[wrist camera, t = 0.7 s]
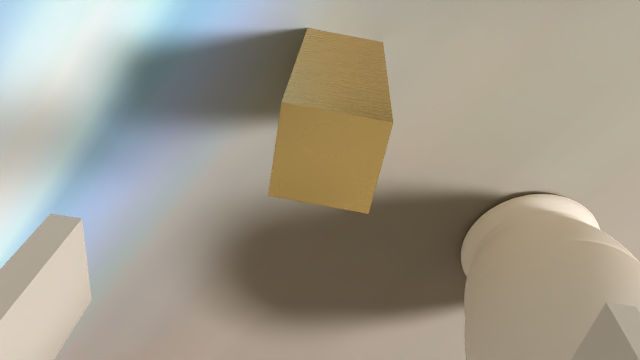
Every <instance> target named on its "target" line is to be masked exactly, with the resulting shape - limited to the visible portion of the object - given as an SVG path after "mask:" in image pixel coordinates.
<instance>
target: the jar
mask: <svg viewBox="0 0 640 360" xmlns="http://www.w3.org/2000/svg"><path fill="white" fill-rule="evenodd" d="M461 263H462V268H463V270H464V273H465V275H466V277H467V280H466V285H465V293H464V314H465V353H466V360H571V359H572V357H573V356H574V354H575V352H576V351H577V349H578V347H579V346H580V344H581V343H582V341H583V339H584V338H585V336H586V334H587V333H588V331H589V329H590V328H591V326H592V324H593V323H594V321H595V319H596V318H597V316H598V314H599V313H600V311H601V309H602V308H603V306H604V304H605V303H606V302H610V303H616V304H623V305H629V306H635V307H637V309H638V311H639V312H640V262H639V261H638V260H637V259H636V258H635V257H634V256H633V255H632V254H631V253H630V252H629V251H628V250H627V249H626V248H625V247H624V246H622V245H621V244H620V243H619V242H618V241H616V240H615V239H614V238H612V237H611V236H609V235H608V234H606V233H605V232H603V231H601V230H600V228H599V225H598V223H597V221H596V219H595V218H594V216H593V215H592V214H591V213H590V211H589V210H587V209H586V208H585V207H584V206H582V205H581V204H579V203H578V202H576V201H574V200H572V199H569V198H566V197H563V196H558V195H552V194H532V195H525V196H520V197H516V198H513V199H510V200H508V201H505V202H503V203H501V204H499V205H497V206H495V207H493V208H492V209H490V210H489V211H487V212H486V213H485V214H483V215H482V216H481V217H480V218H479V219H478V220H477V221H476V222H475V223H474V224H473V226H472V227H471V228H470V230H469V231H468V233H467V235H466V237H465V239H464V241H463V245H462V249H461Z"/></svg>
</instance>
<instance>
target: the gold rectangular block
mask: <svg viewBox="0 0 640 360" xmlns="http://www.w3.org/2000/svg"><path fill="white" fill-rule="evenodd" d="M392 125H393V118H392V110H391V102H390V94H389V86H388V78H387V70H386V62H385V54H384V46H383V42H378V41H372V40H367V39H362V38H357V37H351V36H346V35H341V34H336V33H331V32H325V31H320V30H315V29H310V28H307V31H306V34H305V36H304V39H303V42H302V45H301V48H300V51H299V53H298V56H297V59H296V62H295V65H294V68H293V71H292V73H291V76H290V79H289V82H288V85H287V88H286V91H285V93H284V96H283V99H282V102H281V109H280V116H279V123H278V130H277V137H276V145H275V152H274V159H273V166H272V173H271V180H270V187H269V194H268V196H273V197H279V198H284V199H290V200H295V201H300V202H306V203H311V204H317V205H322V206H328V207H333V208H339V209H344V210H350V211H355V212H361V213H366V214H369V210H370V206H371V203H372V199H373V195H374V192H375V188H376V184H377V180H378V177H379V173H380V169H381V166H382V162H383V158H384V155H385V151H386V147H387V143H388V140H389V136H390V132H391V129H392Z"/></svg>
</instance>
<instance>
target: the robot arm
mask: <svg viewBox="0 0 640 360" xmlns="http://www.w3.org/2000/svg"><path fill="white" fill-rule="evenodd" d="M90 302H91V291H90V283H89V274H88V266H87V257H86V249H85V240H84V232H83V223H82V219H80V218H74V217H68V216H62V215H55V214H50V215H49V216H48V217H47V218H46V220H45V221H44V222H43V223H42V224H41V225H40V226H39V227H38V228H37V230H36V231H35V232H34V233H33V234H32V235H31V236H30V237H29V238H28V239H27V241H26V242H25V243H24V244H23V245H22V246H21V247H20V248H19V249H18V250H17V252H16V253H15V254H14V255H13V256H12V257H11V258H10V259H9V260H8V261H7V263H6V264H5V265H4V266H3V267H2V268H1V269H0V360H54V359H55V357H56V356H57V354H58V353H59V351H60V350H61V348H62V346H63V345H64V343H65V342H66V340H67V338H68V337H69V335H70V334H71V332H72V330H73V329H74V327H75V326H76V324H77V322H78V321H79V319H80V318H81V316H82V315H83V313H84V311H85V310H86V308H87V307H88V305H89V303H90ZM571 360H640V312H639V311H638V309H637V307H635V306H629V305H623V304H616V303H610V302H606V303H605V304H604V306H603V308H602V309H601V311H600V313H599V314H598V316H597V318H596V319H595V321H594V323H593V324H592V326H591V328H590V329H589V331H588V333H587V334H586V336H585V338H584V339H583V341H582V343H581V344H580V346H579V347H578V349H577V351H576V352H575V354H574V356H573V357H572V359H571Z"/></svg>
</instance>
